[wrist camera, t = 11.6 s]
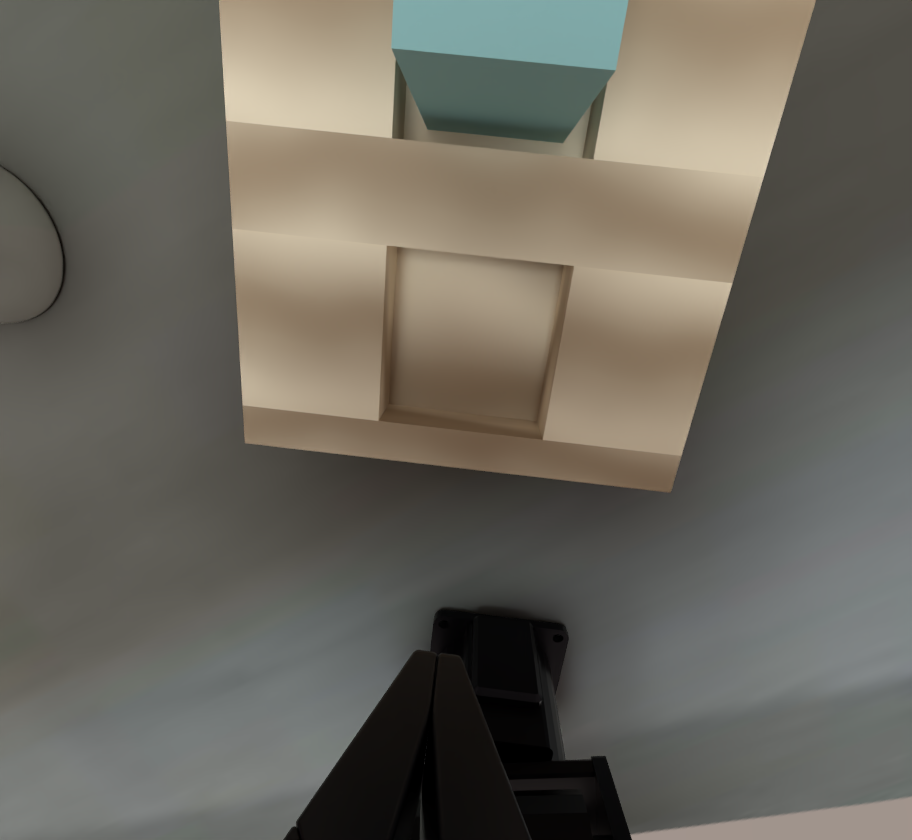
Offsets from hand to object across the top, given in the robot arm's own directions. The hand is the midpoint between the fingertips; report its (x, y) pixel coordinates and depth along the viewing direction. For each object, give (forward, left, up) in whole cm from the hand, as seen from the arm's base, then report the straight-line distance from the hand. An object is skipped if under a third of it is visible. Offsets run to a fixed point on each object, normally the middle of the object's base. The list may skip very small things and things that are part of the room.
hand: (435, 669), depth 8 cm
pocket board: (+9, 0, -12) cm, 15 cm away
